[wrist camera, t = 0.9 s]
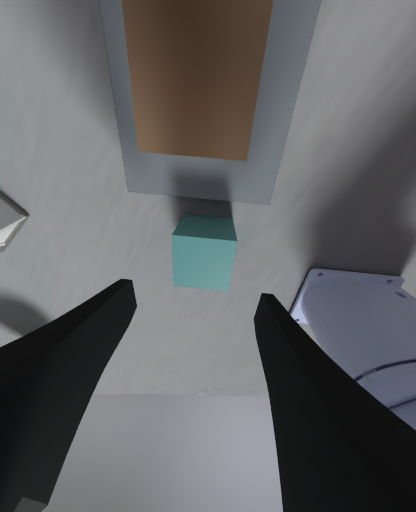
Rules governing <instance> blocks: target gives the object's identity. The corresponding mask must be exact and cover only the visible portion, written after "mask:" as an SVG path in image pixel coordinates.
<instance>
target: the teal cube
mask: <svg viewBox="0 0 416 512" xmlns="http://www.w3.org/2000/svg"><path fill="white" fill-rule="evenodd" d="M236 245H237V238H236V233H235V228H234V222H233V219H228V218H217V217H207V216H196V215H186V214H185V215H184V217H183V218H182V220H181V222H180V223H179V225H178V226H177V228H176V229H175V231H174V232H173V234H172V254H173V284H174V286H183V287H192V288H202V289H211V290H221V291H228V290H229V284H230V278H231V273H232V267H233V262H234V256H235V251H236Z"/></svg>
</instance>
